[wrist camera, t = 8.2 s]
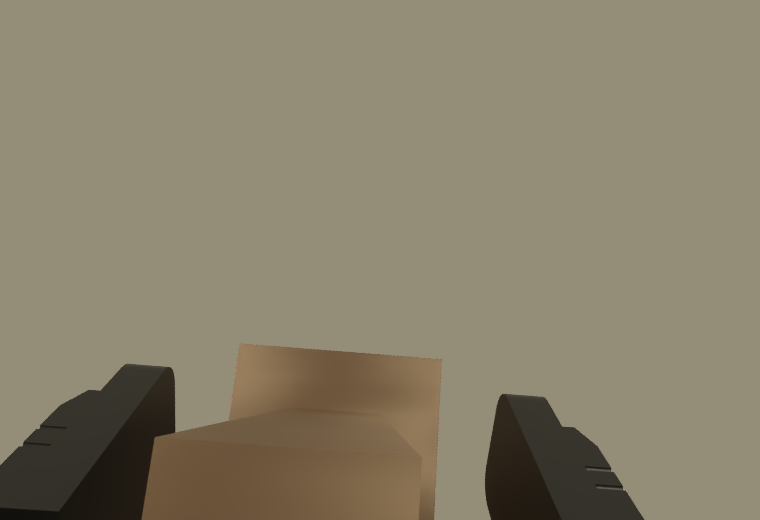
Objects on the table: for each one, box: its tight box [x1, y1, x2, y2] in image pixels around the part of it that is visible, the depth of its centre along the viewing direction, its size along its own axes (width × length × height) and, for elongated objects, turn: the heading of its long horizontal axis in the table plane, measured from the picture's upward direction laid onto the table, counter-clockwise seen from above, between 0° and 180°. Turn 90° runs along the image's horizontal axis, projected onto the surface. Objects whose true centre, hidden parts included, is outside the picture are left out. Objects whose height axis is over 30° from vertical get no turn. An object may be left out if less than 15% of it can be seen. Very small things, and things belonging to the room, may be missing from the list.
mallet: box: [142, 344, 442, 520], centre depth 13 cm, size 6×17×6 cm, turn 2°
